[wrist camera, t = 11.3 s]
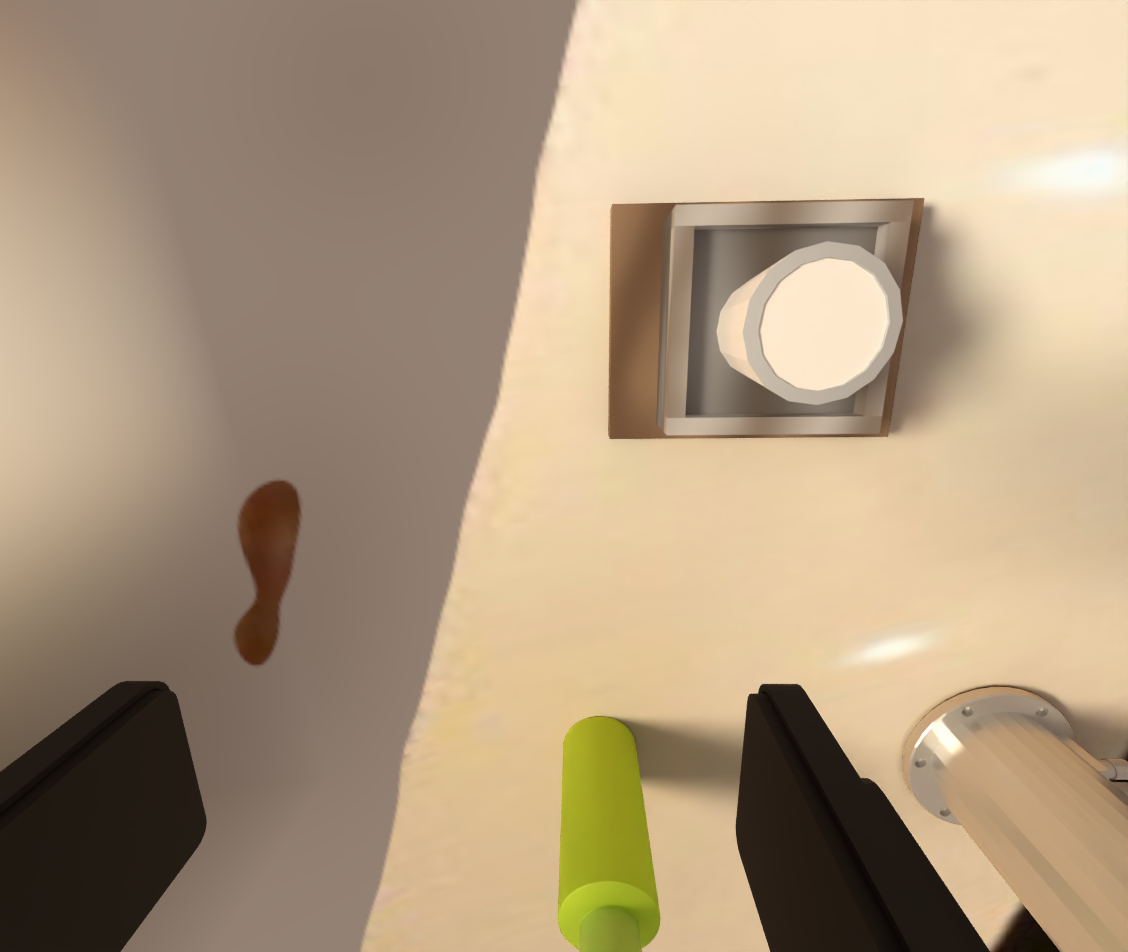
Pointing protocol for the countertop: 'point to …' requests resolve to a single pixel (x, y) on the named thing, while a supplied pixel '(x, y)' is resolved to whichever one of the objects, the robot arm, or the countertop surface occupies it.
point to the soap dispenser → (604, 843)
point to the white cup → (814, 323)
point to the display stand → (699, 292)
